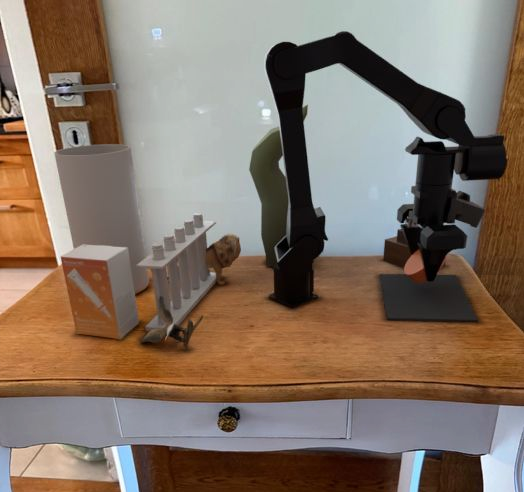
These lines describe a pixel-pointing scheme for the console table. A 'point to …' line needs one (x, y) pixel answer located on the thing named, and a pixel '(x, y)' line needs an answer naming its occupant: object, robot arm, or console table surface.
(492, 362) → the console table surface
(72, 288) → the small box
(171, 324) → the eagle figurine
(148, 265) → the test tube rack
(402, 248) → the brown notched block
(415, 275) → the disc
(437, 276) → the mat
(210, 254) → the lion figurine
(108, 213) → the cylinder vase
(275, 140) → the tentacle
